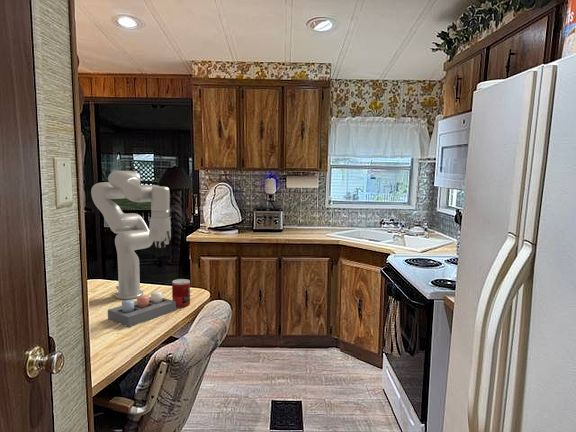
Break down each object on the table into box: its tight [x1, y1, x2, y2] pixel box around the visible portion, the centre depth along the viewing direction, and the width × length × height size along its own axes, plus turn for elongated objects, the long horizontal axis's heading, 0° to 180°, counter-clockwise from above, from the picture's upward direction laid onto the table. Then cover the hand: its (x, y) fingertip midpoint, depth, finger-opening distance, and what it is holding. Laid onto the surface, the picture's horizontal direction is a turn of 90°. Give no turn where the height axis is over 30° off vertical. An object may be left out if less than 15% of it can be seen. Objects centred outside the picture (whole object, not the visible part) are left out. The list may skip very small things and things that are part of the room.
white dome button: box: [150, 290, 163, 304], centre depth 166 cm, size 5×5×4 cm
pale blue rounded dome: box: [121, 299, 135, 314], centre depth 155 cm, size 5×5×4 cm
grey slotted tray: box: [107, 296, 177, 328], centre depth 161 cm, size 14×23×4 cm, turn 147°
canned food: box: [171, 278, 191, 308], centre depth 174 cm, size 8×8×11 cm
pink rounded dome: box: [136, 294, 150, 309], centre depth 160 cm, size 5×5×4 cm
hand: (160, 255), depth 169 cm, fingers closed
